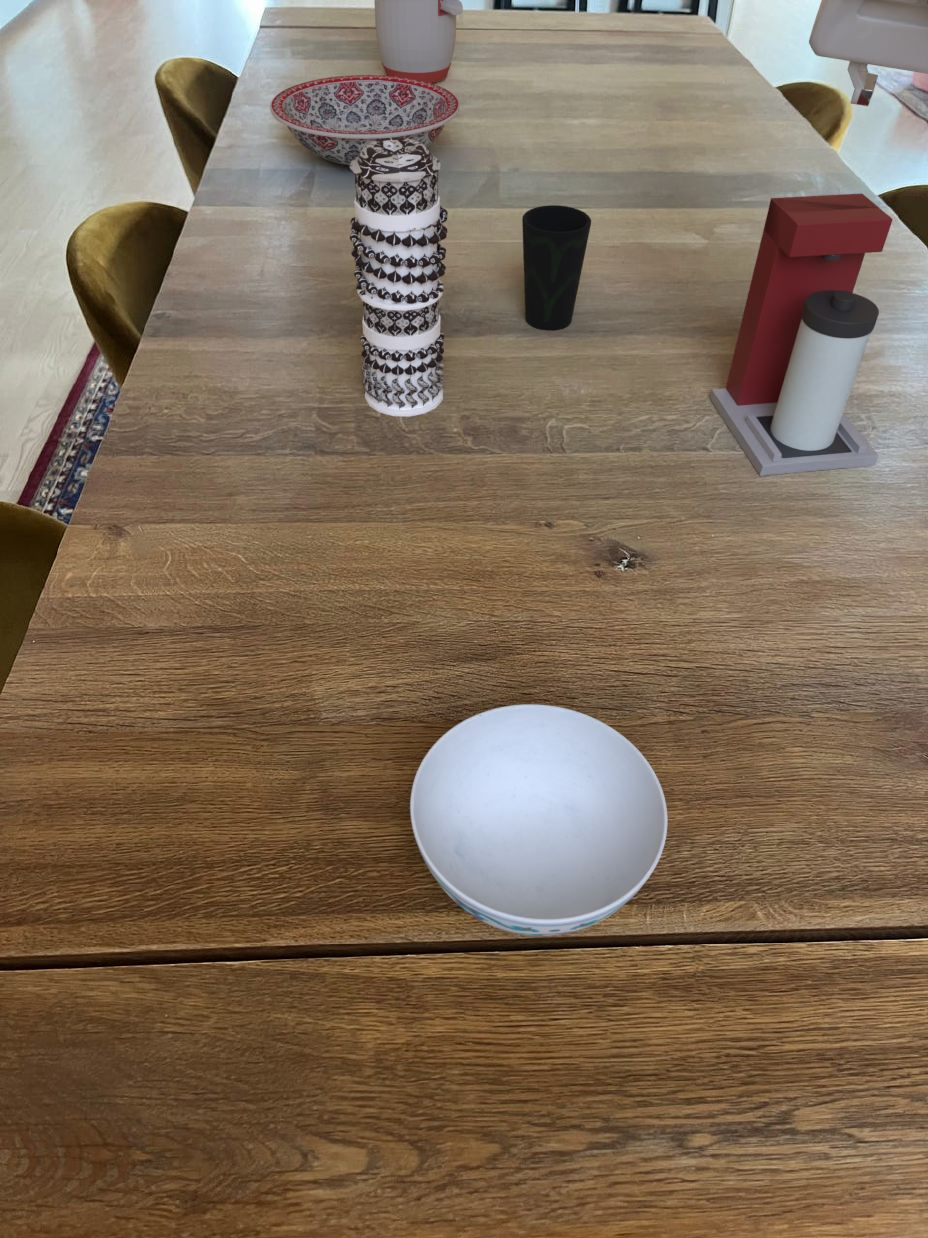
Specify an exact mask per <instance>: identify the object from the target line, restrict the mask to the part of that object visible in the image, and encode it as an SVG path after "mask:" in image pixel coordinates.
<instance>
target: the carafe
mask: <svg viewBox="0 0 928 1238" xmlns="http://www.w3.org/2000/svg"><path fill="white" fill-rule="evenodd" d="M879 315H880V310H879V308H878V306H877V305H876V304H875V303H874V302H873V301H872V300H870V299H868V298H867V297H865V296H863V295H860V294H857V293H852V292H848V291H838V290H825V291H819V292H815V293H813V294H811V295H809V296H808V297H807V299H806V301H805V305H804V308H803V312H802V319H801V323H800V326H799V330H798V333H797V337H796V340H795V344H794V347H793V351H792V354H791V357H790V361H789V364H788V368H787V371H786V375H785V378H784V382H783V385H782V389H781V392H780V396H779V399H778V403H777V406H776V410H775V413H774V417H773V420H772V424H771V433H772V435H773V436H774V437H775V438H776V439H777V440H778V441H779V442H781V443H782V444H784V445H786V446H789V447H791V448H795V449H799V450H805V451H816V450H822V449H825V448H827V447H829V446H830V445H831V444H832V443H833V441H834V438H835V435H836V432H837V429H838V426H839V424H840V421H841V418H842V415H843V413H845V410H846V406H847V404H848V400H849V397H850V395H851V392H852V389H853V386H854V383H855V380H856V377H857V374H858V371H859V368H860V367H861V363H862V360H863V358H864V354H865V351H866V349H867V346H868V343H869V341H870V338H871V334H872V332H873V331H874V329H875V326H876V323H877V320H878V318H879Z"/></svg>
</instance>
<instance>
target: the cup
mask: <svg viewBox="0 0 928 1238" xmlns="http://www.w3.org/2000/svg"><path fill="white" fill-rule="evenodd" d="M521 220H522V221H521V224H522V225H521V226H522V254H523V255H522V256H523V257H522V259H523V286H524V287H523V289H524V290H523V291H524V318H525V319H524V320H525V322H526V323H527V324H528V325H529V326H530V327H532V328H535V329H537V330H541V331H559V330H564V329H565V328H568V327H569V326H570V325H571V324H572V320H573V316H574V310H575V305H576V300H577V295H578V291H579V285H580V280H581V276H582V271H583V265H584V260H585V255H586V252H587V245H588V240H589V236H590V231H591V227H592V219H591V217H590V215H588V214H587V213H586V212H585V211H583V210H581V209H578V208H575V207H571V206H567V205H541V206H536V207H533V208H531V209H529V210H527V211H526V212H525V213H524V214H523V215H522V218H521Z"/></svg>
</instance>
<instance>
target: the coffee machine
mask: <svg viewBox="0 0 928 1238" xmlns="http://www.w3.org/2000/svg"><path fill="white" fill-rule="evenodd" d="M893 221H894V219H893V218H892V217H891V216H890V215H889V214H888V213H886V211H884V210H883V209H881V208H880V207H879V206H878V205H877V204H875V203H874V202H873V201H872V200H871V199H870V198H869V197H867V196H866V195H865V194H864V193H846V194H845V193H844V194H826V195H825V194H823V195H807V196H785V197H771V198H770V201H769V205H768V208H767V213H766V217H765V222H764V226H763V230H762V235H761V238H760V242H759V247H758V251H757V256H756V259H755V263H754V268H753V272H752V276H751V281H750V285H749V289H748V293H747V297H746V302H745V305H744V309H743V312H742V313H743V314H742V318H741V322H740V326H739V329H738V330H739V331H738V334H737V339H736V342H735V346H734V347H735V348H734V352H733V355H732V360H731V364H730V369H729V372H728V375H727V376H728V377H727V381H726V384H725V387H723V388H712V389H711V393H710V396H709V397H710V398H709V400H710V402H711V403H712V405H713V406H714V407H715V409H716V411H717V413H718V414H719V415H720V417H721V419H722V420H723V422H724V423H725V424H726V426H727V428H728V429H729V431H730V432H731V434H732V435H733V437H734V438H735V441H736V442H737V443H738V444H739V446H740V448H741V449H742V451H743V452H744V455H746V457H747V458H748V460H749V462H750V463H751V465H752V466H753V467H754V469H755V471H756V472H757V474H758V476H760V477H763V476H773V475H775V476H776V475H786V474H795V473H797V474H798V473H806V472H817V471H818V472H819V471H829V470H839V469H841V470H842V469H850V468H863V467H873V466H876V463H877V461H878V458H879V454H878V453H877V452H876V450H875V449H874V448H873V447H872V446H871V444H870V443H869V442H868V440H866V438H865V436H863V434H862V433H861V432H860V431H859V430H858V428H857V427H856V426H855V425H854V423H853V422H852V421H851V420H850V419H849V417H848V416H847V415H846V414H845V412H843V415H842V418H841V421H840V424H839V426H838V429H837V432H836V435H835V438H834V441H833V443H832V444H831V445H830V446H829V447H827V448H825V449H822V450H816V451H805V450H799V449H795V448H791V447H789V446H786V445H784V444H782V443H781V442H779V441H778V440H777V439H776V438H775V437H774V436H773V435H772V433H771V424H772V420H773V417H774V413H775V410H776V406H777V403H778V399H779V396H780V392H781V389H782V385H783V382H784V378H785V375H786V371H787V368H788V364H789V361H790V357H791V354H792V351H793V347H794V344H795V340H796V337H797V333H798V330H799V326H800V323H801V319H802V312H803V308H804V305H805V301H806V299H807V297H808V296H809V295H811V294H813V293H815V292H819V291H825V290H838V291H848V292H852V293H853V292H854V289H855V286H856V283H857V280H858V277H859V274H860V271H861V268H862V265H863V261H864V258H865V255H866V254H870V253H883V250H884V247H885V243H886V241H887V238H888V235H889V233H890V230H891V226H892V223H893Z"/></svg>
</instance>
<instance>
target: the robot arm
mask: <svg viewBox="0 0 928 1238" xmlns="http://www.w3.org/2000/svg"><path fill="white" fill-rule="evenodd" d="M808 45H809V46H810V48H811V50H812V51H813V53H814V55H816V56H817V57H822V58H829V59H835V60H841V61H847V62H849V63H848V66H847V72H848V75H849V78H850V80H851V83H852V86H853V88H854V89H853V91H852V92H853V93H852V95H851V99H850V104H851V105H858V106H864V107H869V105H870V103H871V99H872V97H873V94H874V92H875V88H876V84H877V82H878V78H879V74H876V73H871V72H869V69H868V66H869V65H871V66H878V67H884V68H889V69H895V70H901V71H907V72H913V73H919V74H925V75H928V0H821V1H820V4H819V7H818V9H817V13H816V15H815V18H814V22H813V25H812V28H811V32H810V36H809V40H808Z"/></svg>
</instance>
